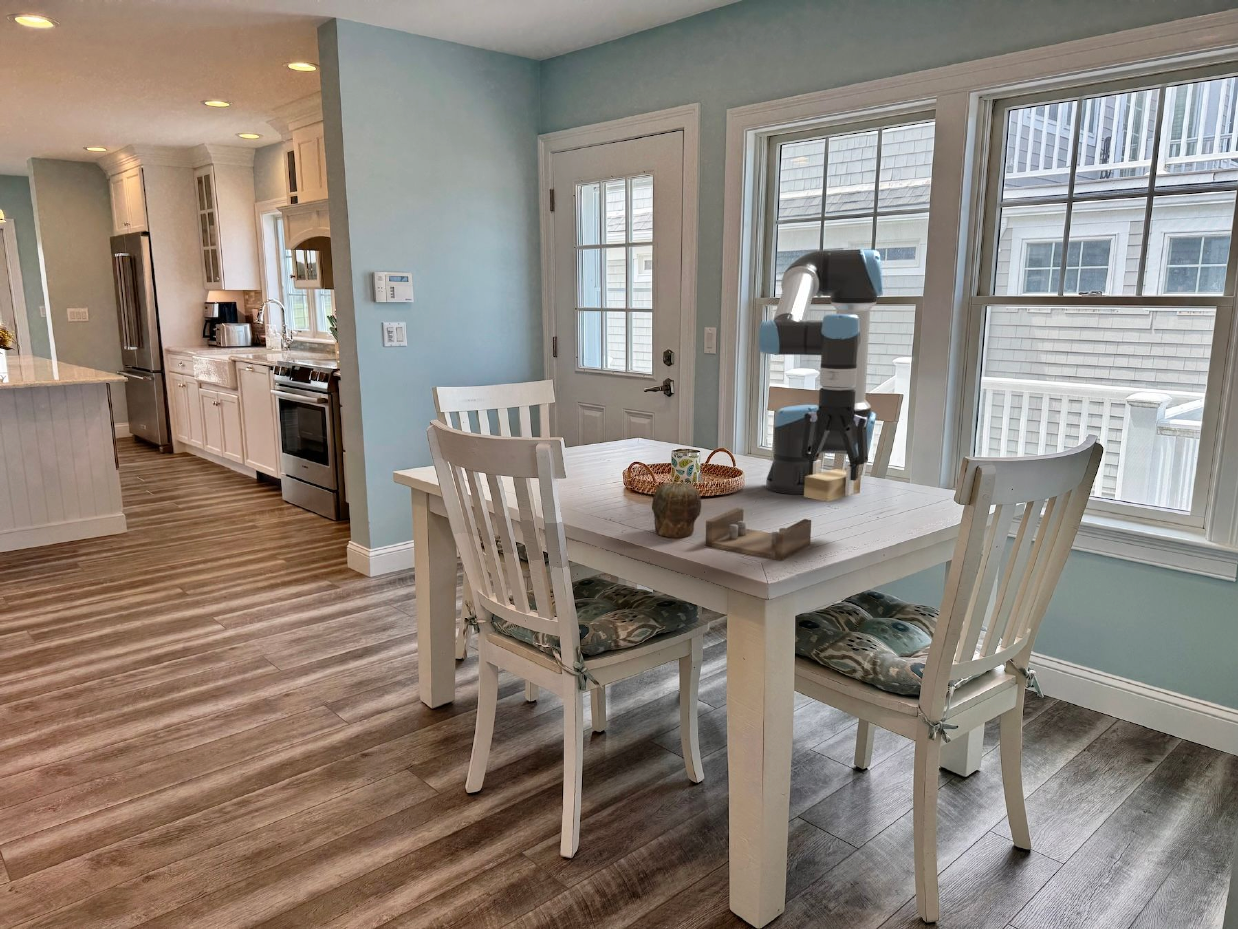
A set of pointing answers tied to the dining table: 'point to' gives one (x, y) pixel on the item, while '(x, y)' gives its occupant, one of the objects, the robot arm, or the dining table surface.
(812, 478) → the light wooden block
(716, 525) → the peg frame
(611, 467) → the dining table surface
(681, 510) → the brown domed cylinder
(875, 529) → the dining table surface
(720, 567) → the dining table surface
